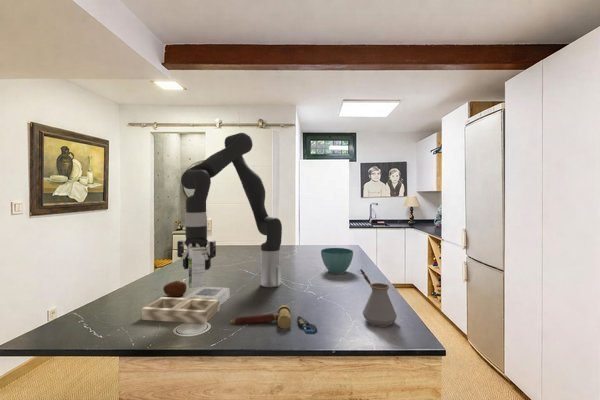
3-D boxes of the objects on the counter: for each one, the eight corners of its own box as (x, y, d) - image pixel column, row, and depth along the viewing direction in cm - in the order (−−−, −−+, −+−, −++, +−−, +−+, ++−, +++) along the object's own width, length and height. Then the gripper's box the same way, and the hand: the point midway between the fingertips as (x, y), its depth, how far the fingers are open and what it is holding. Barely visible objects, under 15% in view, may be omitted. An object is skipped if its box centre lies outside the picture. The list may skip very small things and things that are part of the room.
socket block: (229, 297, 130) (229, 287, 130) (217, 308, 117) (217, 298, 117) (201, 295, 132) (201, 286, 132) (186, 306, 119) (185, 296, 119)
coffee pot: (403, 327, 101) (403, 283, 100) (372, 331, 98) (372, 285, 98) (373, 304, 121) (373, 267, 121) (346, 307, 119) (346, 269, 118)
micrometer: (318, 328, 97) (303, 330, 96) (318, 334, 97) (303, 336, 96) (308, 313, 109) (295, 314, 107) (308, 318, 109) (295, 320, 108)
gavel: (227, 321, 99) (232, 309, 109) (228, 334, 99) (233, 321, 109) (290, 315, 100) (289, 304, 110) (291, 328, 101) (290, 316, 111)
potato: (181, 298, 128) (181, 283, 128) (160, 298, 129) (160, 283, 129) (188, 293, 135) (188, 279, 135) (168, 292, 136) (168, 278, 136)
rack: (219, 310, 116) (219, 299, 116) (205, 323, 104) (205, 312, 104) (161, 306, 119) (161, 296, 119) (141, 319, 107) (141, 308, 107)
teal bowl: (355, 276, 162) (355, 253, 161) (321, 276, 162) (321, 253, 162) (350, 268, 180) (350, 247, 180) (320, 268, 180) (320, 247, 180)
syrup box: (188, 284, 112) (187, 245, 111) (204, 282, 114) (204, 244, 114) (188, 288, 107) (188, 247, 106) (206, 286, 109) (205, 246, 109)
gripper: (219, 223, 113) (219, 267, 113) (183, 223, 115) (183, 266, 115) (210, 226, 105) (210, 272, 106) (172, 225, 107) (172, 271, 108)
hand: (196, 269), depth 110 cm, fingers closed on syrup box, 7 cm apart
